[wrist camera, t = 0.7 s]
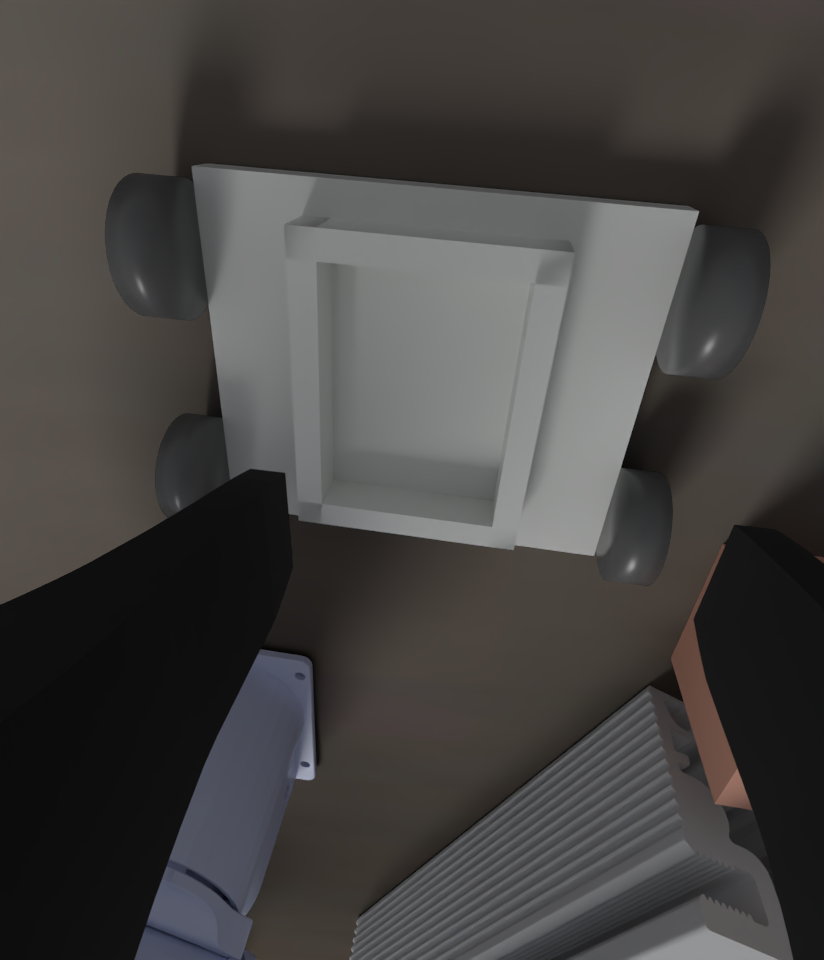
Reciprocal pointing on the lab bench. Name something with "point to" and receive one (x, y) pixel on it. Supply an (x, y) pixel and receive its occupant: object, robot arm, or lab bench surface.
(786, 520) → the lab bench surface
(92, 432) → the lab bench surface
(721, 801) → the terracotta rectangular block
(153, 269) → the chassis
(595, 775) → the aluminum extrusion profile
